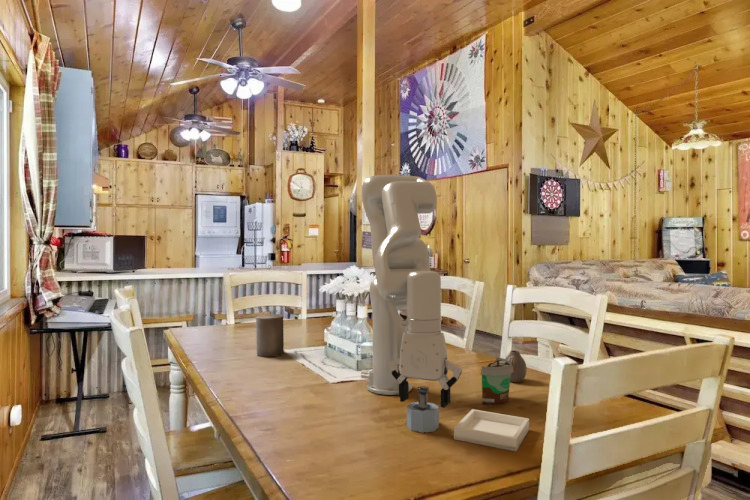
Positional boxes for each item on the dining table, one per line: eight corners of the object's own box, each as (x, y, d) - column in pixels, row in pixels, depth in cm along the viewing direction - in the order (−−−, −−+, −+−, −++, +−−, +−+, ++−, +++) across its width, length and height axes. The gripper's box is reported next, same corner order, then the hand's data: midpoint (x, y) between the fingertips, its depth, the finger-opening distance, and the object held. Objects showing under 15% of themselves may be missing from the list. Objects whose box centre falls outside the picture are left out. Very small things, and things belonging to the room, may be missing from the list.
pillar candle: (289, 353, 186) (289, 311, 186) (270, 358, 178) (270, 315, 178) (269, 350, 192) (269, 309, 191) (250, 355, 183) (249, 313, 183)
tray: (453, 439, 109) (453, 427, 109) (472, 419, 120) (472, 409, 120) (516, 451, 103) (516, 439, 103) (529, 429, 114) (529, 418, 114)
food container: (504, 410, 127) (504, 370, 127) (480, 405, 130) (480, 366, 130) (518, 397, 137) (519, 359, 137) (496, 393, 141) (496, 356, 140)
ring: (403, 428, 114) (403, 408, 114) (416, 417, 121) (416, 399, 121) (431, 434, 111) (431, 413, 111) (443, 422, 118) (443, 403, 118)
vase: (527, 384, 149) (527, 354, 148) (502, 383, 150) (503, 353, 150) (525, 378, 155) (525, 349, 155) (501, 376, 157) (502, 348, 157)
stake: (415, 427, 115) (415, 388, 115) (419, 423, 118) (419, 385, 117) (425, 429, 114) (426, 390, 114) (430, 425, 116) (430, 387, 116)
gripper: (381, 326, 115) (381, 402, 115) (455, 331, 107) (456, 413, 107) (396, 322, 122) (396, 394, 122) (466, 326, 114) (466, 404, 114)
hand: (424, 403), depth 115 cm, fingers open, 9 cm apart
